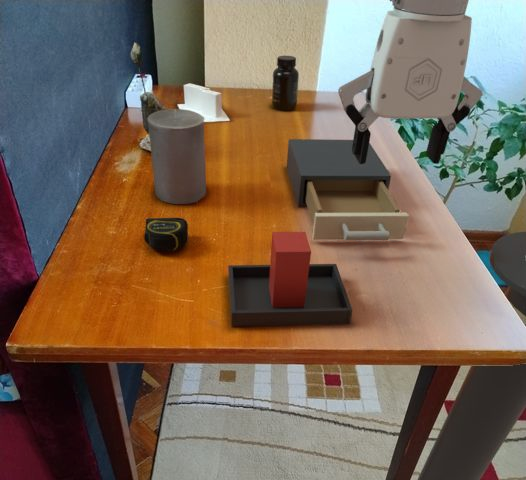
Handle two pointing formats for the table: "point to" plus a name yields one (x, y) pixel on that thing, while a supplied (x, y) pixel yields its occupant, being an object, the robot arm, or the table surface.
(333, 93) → the table surface
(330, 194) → the drawer
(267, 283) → the tray
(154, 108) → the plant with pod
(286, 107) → the supplement bottle
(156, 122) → the pillar candle
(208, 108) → the napkin holder
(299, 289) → the card box
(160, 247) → the tape measure
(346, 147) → the cabinet
